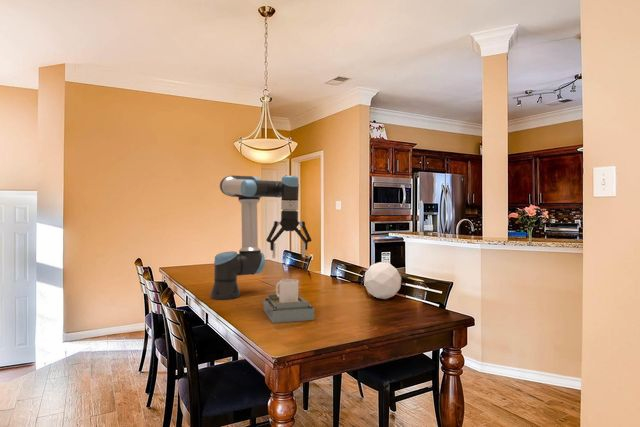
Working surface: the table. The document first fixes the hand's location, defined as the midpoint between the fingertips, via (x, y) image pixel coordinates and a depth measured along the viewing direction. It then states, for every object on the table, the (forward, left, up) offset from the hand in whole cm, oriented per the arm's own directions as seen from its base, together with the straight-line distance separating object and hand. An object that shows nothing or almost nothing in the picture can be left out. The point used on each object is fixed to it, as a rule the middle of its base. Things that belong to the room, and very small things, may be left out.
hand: (288, 257), depth 177 cm
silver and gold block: (+2, -1, -25) cm, 25 cm away
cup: (+2, -2, -20) cm, 20 cm away
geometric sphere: (-17, +55, -25) cm, 63 cm away
